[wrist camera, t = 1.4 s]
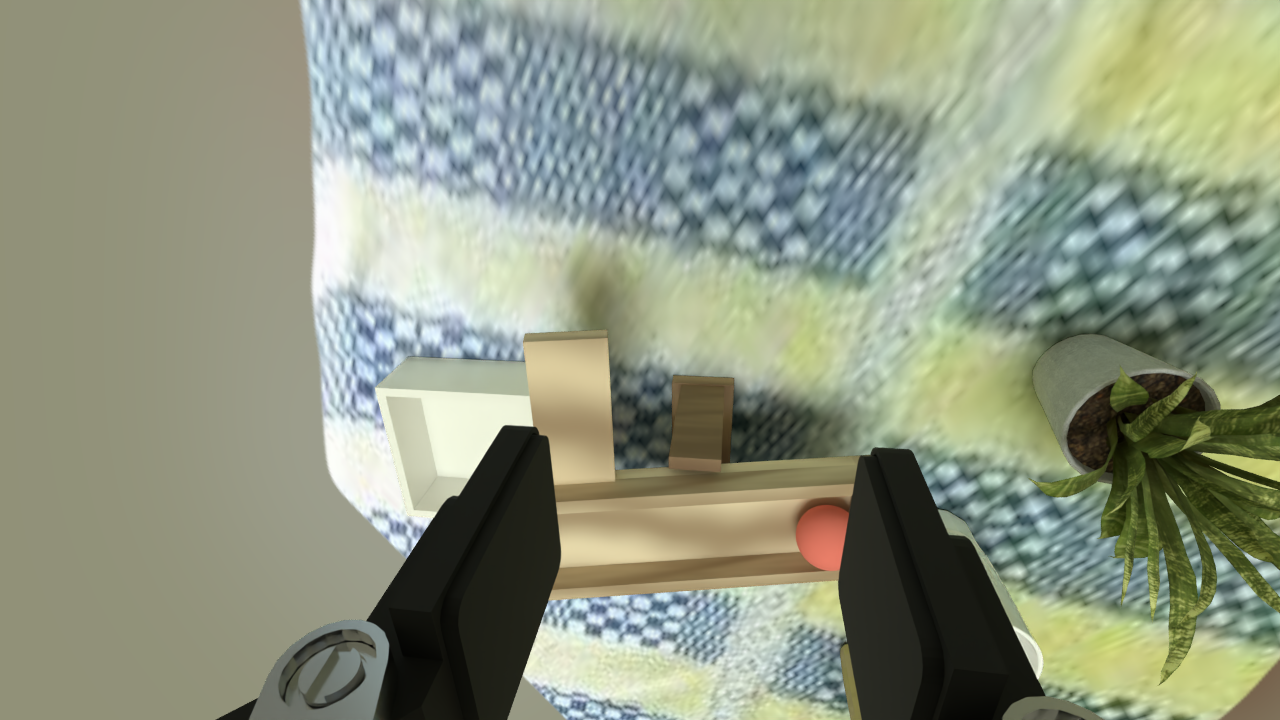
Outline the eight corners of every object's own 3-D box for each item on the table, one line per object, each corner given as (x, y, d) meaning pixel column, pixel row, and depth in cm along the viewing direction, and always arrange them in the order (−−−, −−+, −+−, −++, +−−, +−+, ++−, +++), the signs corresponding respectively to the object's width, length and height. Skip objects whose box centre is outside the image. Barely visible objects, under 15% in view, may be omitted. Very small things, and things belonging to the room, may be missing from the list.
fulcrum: (673, 375, 40) (657, 454, 32) (734, 378, 40) (732, 459, 32) (673, 489, 45) (659, 584, 37) (727, 493, 44) (725, 590, 36)
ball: (792, 492, 34) (807, 536, 31) (855, 491, 34) (876, 535, 31) (787, 539, 36) (800, 585, 33) (847, 538, 36) (866, 585, 32)
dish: (408, 356, 43) (374, 387, 39) (576, 364, 41) (559, 397, 37) (435, 477, 48) (407, 515, 44) (586, 488, 46) (572, 529, 42)
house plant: (1162, 494, 39) (1408, 751, 25) (937, 475, 41) (1044, 705, 27) (1264, 286, 33) (1677, 470, 18) (992, 274, 35) (1173, 434, 20)
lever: (498, 323, 31) (483, 363, 27) (885, 305, 32) (926, 340, 28) (530, 554, 38) (523, 612, 34) (846, 533, 39) (874, 587, 35)
